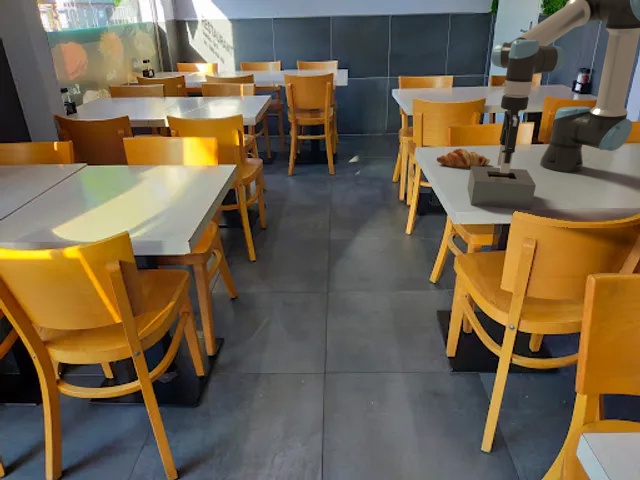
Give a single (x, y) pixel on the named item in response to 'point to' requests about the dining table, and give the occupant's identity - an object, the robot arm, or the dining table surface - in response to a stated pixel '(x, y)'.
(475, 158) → the croissant
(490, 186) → the box
